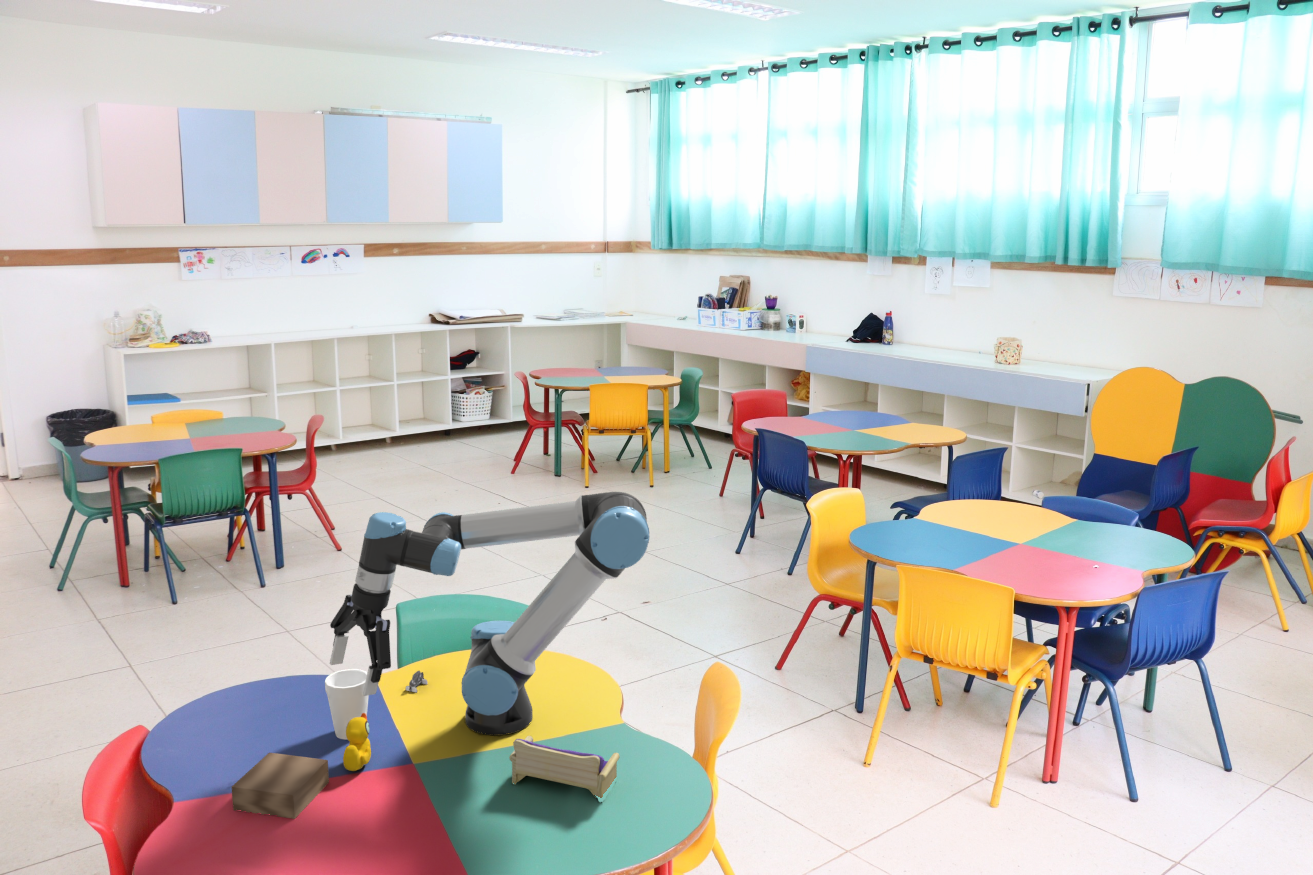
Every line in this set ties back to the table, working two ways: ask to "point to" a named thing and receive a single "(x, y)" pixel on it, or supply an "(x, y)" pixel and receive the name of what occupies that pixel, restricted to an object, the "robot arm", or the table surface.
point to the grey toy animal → (416, 681)
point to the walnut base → (280, 785)
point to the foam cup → (346, 698)
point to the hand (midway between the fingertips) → (352, 678)
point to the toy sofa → (563, 766)
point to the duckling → (357, 744)
